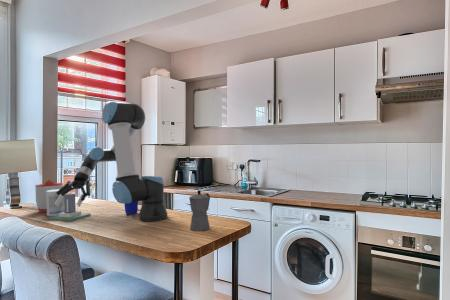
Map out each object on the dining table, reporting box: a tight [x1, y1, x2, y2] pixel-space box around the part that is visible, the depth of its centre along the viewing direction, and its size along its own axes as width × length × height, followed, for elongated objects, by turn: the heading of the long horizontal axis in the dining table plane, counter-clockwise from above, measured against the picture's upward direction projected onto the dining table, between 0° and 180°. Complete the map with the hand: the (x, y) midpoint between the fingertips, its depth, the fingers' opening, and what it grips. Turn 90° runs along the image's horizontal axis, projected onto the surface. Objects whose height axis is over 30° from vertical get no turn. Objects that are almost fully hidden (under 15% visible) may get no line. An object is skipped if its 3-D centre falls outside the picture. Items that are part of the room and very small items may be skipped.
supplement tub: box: [46, 189, 65, 217], centre depth 180 cm, size 10×10×15 cm
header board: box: [48, 210, 92, 222], centre depth 171 cm, size 16×14×3 cm
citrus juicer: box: [34, 179, 64, 214], centre depth 193 cm, size 16×17×20 cm
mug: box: [124, 201, 141, 215], centre depth 178 cm, size 8×12×10 cm
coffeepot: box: [188, 189, 211, 232], centre depth 142 cm, size 15×9×18 cm, turn 151°
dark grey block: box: [64, 193, 77, 213], centre depth 171 cm, size 4×4×12 cm
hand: (67, 205), depth 169 cm, fingers open, 13 cm apart
